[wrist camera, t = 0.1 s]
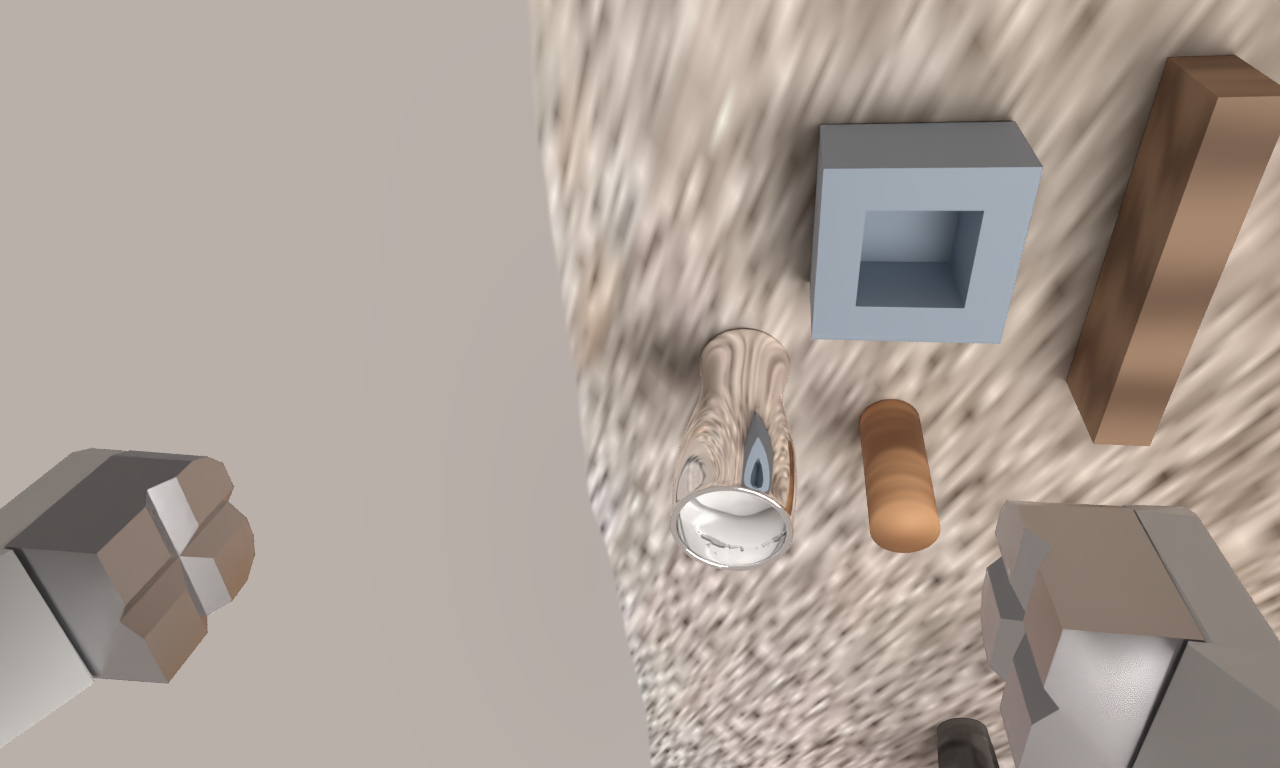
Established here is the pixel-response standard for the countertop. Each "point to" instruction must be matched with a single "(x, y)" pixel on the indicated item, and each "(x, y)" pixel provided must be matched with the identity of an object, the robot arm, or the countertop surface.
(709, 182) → the countertop surface
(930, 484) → the dowel
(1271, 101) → the backstop wall
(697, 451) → the beer glass
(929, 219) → the socket block
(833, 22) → the countertop surface
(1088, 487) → the countertop surface
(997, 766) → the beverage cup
